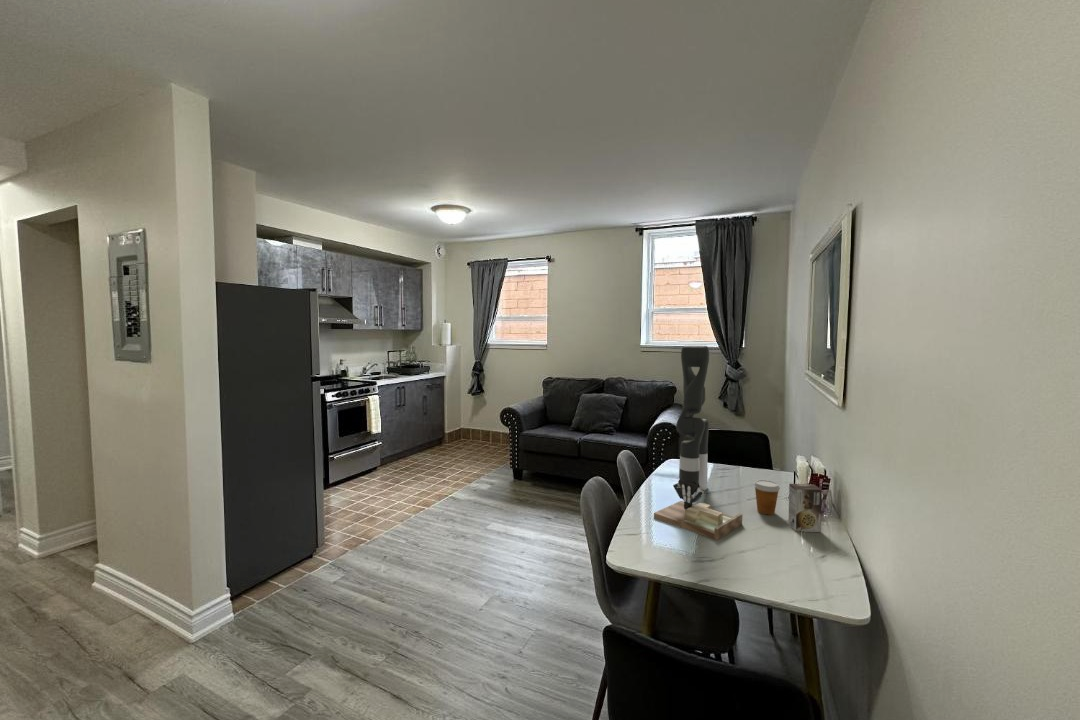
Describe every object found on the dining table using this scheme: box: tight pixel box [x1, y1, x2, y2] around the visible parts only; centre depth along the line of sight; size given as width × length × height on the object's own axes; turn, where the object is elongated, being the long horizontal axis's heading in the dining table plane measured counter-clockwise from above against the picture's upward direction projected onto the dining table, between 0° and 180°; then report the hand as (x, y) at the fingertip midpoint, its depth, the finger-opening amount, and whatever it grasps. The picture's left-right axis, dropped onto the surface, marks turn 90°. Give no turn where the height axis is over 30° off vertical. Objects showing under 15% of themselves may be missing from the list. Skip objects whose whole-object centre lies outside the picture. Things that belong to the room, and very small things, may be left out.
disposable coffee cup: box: [753, 479, 780, 516], centre depth 183 cm, size 10×10×12 cm
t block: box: [685, 502, 724, 525], centre depth 171 cm, size 12×11×4 cm
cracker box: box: [787, 483, 823, 533], centre depth 167 cm, size 9×6×16 cm
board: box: [653, 500, 743, 541], centre depth 173 cm, size 20×26×4 cm
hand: (688, 510), depth 176 cm, fingers closed
